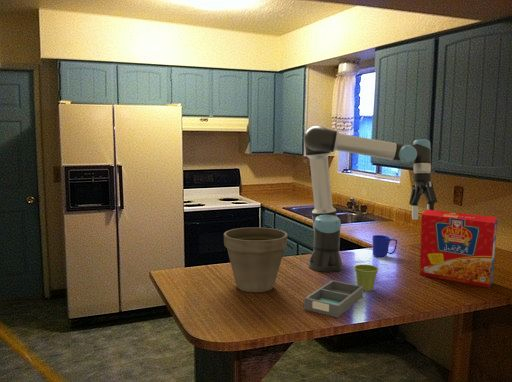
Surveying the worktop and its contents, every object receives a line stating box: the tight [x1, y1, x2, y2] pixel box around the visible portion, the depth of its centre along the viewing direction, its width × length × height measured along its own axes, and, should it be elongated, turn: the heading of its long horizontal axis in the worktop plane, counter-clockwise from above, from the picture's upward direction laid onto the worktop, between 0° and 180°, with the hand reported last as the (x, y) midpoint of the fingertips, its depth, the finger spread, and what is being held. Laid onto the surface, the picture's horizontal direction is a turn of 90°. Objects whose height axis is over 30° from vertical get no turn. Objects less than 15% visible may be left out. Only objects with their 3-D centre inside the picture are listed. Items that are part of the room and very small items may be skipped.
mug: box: [372, 234, 398, 258], centre depth 234 cm, size 8×12×10 cm
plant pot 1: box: [223, 227, 288, 293], centre depth 183 cm, size 25×25×22 cm
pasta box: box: [419, 209, 498, 289], centre depth 197 cm, size 28×8×28 cm, turn 56°
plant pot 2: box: [353, 264, 380, 292], centre depth 184 cm, size 9×9×9 cm
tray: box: [303, 280, 364, 318], centre depth 168 cm, size 13×25×4 cm, turn 148°
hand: (422, 219), depth 213 cm, fingers open, 13 cm apart
